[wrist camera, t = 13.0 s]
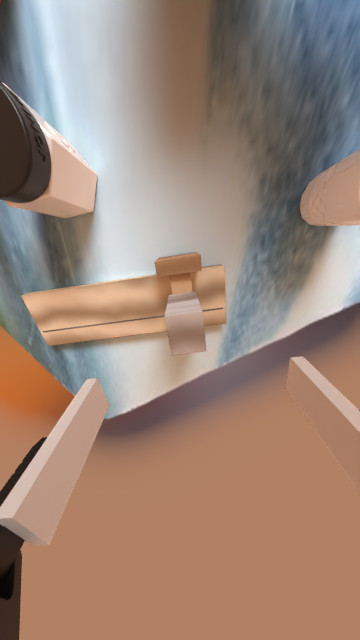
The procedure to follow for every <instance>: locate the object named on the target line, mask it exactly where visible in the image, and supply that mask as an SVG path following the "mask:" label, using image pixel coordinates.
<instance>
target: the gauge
mask: <svg viewBox="0 0 360 640" xmlns="http://www.w3.org/2000/svg"><path fill="white" fill-rule="evenodd" d="M155 266H156V271H157V277H161V276H168V275H169V278H170V284H171V290H172V295H169V297H168V302H167V307H166V312H165V322H166V327H167V332H168V337H169V342H170V347H171V352H172V355H179V354H187V353H196V352H204V351H206V344H205V333H204V323H203V312H202V309H201V306H200V302H199V299H198V296H197V293H196V292H192V283H191V275H190V272H196V271H202V269H201V257H200V254H198V253H189V254H183V255H176V256H169V257H163V258H159V259H158V260H156V261H155Z"/></svg>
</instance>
